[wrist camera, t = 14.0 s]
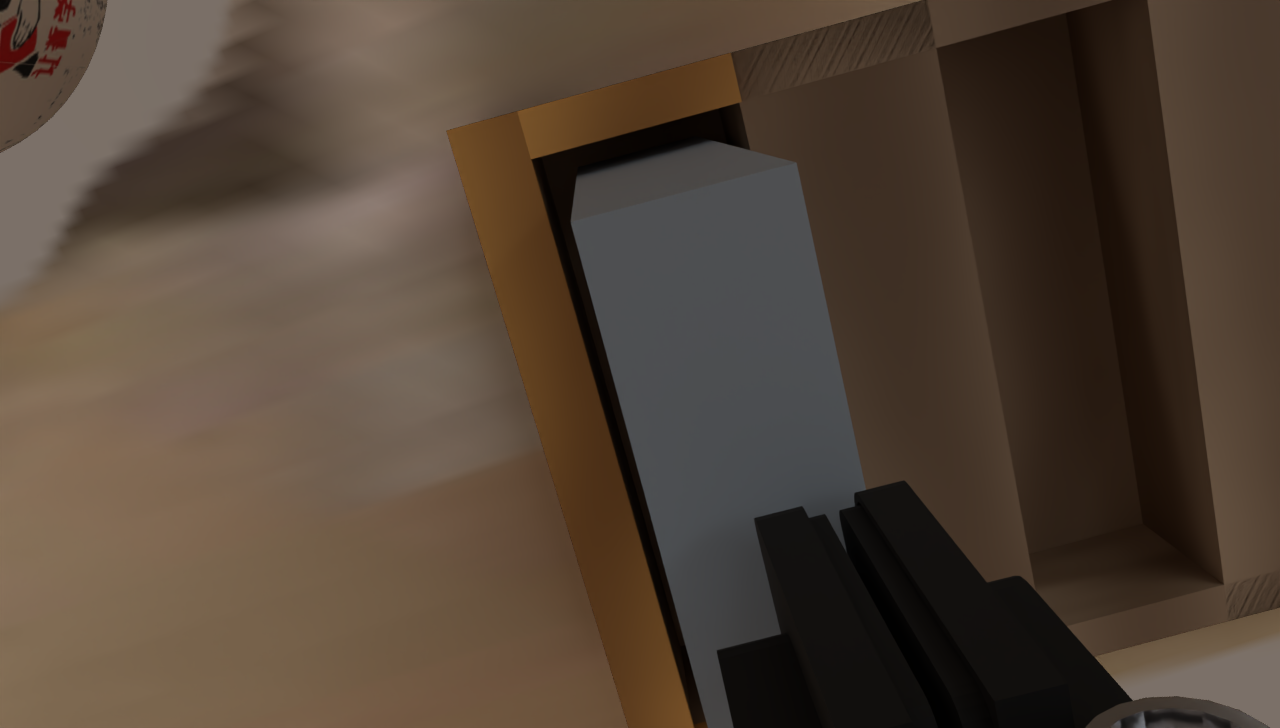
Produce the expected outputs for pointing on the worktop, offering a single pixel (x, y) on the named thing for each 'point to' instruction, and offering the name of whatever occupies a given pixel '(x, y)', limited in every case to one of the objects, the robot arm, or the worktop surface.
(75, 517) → the worktop surface
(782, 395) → the panel
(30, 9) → the teacup with lid
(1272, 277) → the rack
